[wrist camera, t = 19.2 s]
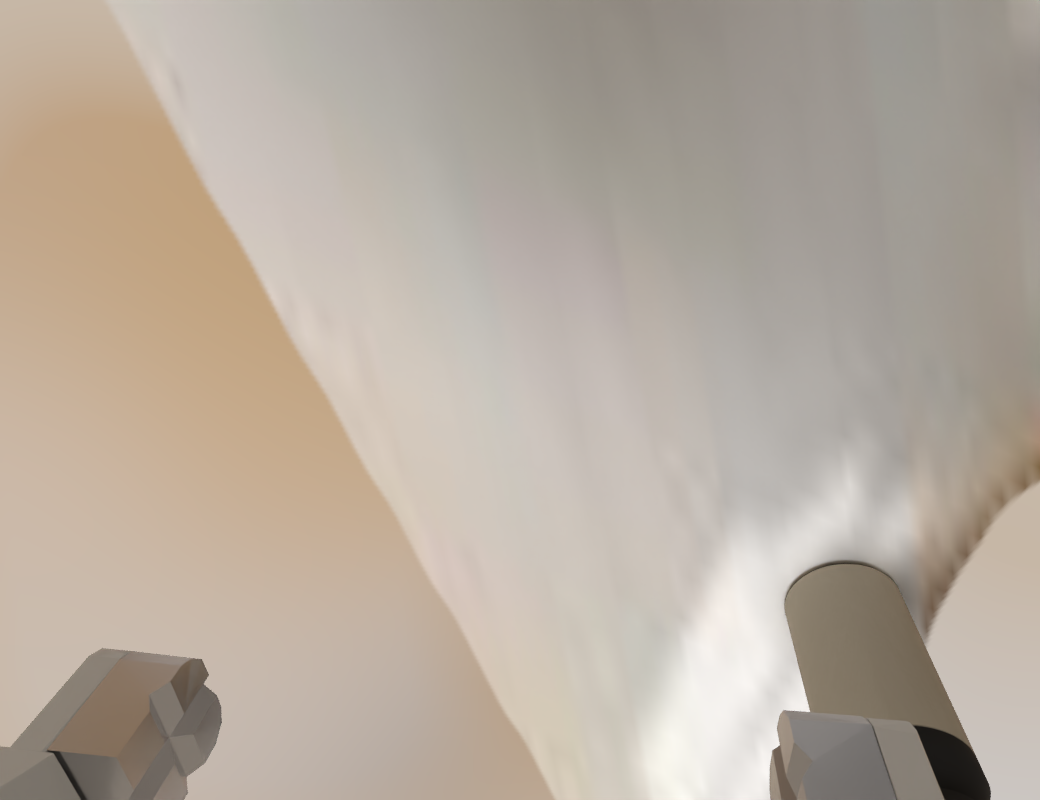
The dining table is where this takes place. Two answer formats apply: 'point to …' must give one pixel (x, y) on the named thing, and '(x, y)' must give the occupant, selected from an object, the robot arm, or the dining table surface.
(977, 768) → the travel mug
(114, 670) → the robot arm
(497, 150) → the dining table surface
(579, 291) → the dining table surface
